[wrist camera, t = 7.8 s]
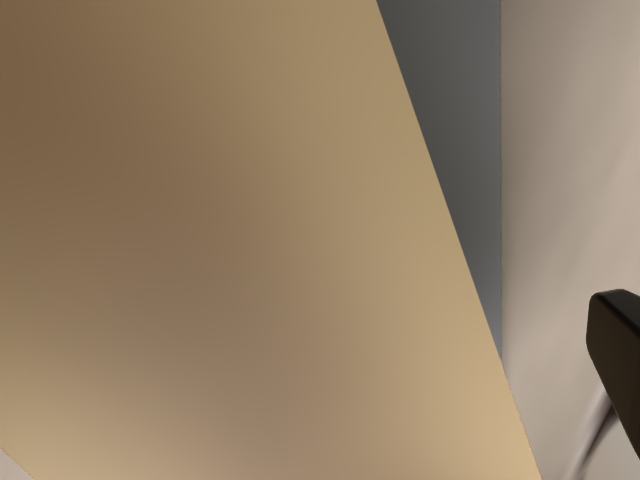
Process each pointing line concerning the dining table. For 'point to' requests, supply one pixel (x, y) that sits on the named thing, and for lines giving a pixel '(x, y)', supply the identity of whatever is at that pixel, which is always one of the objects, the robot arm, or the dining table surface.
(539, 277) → the dining table surface
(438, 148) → the peg rack
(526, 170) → the dining table surface
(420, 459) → the shelf board
